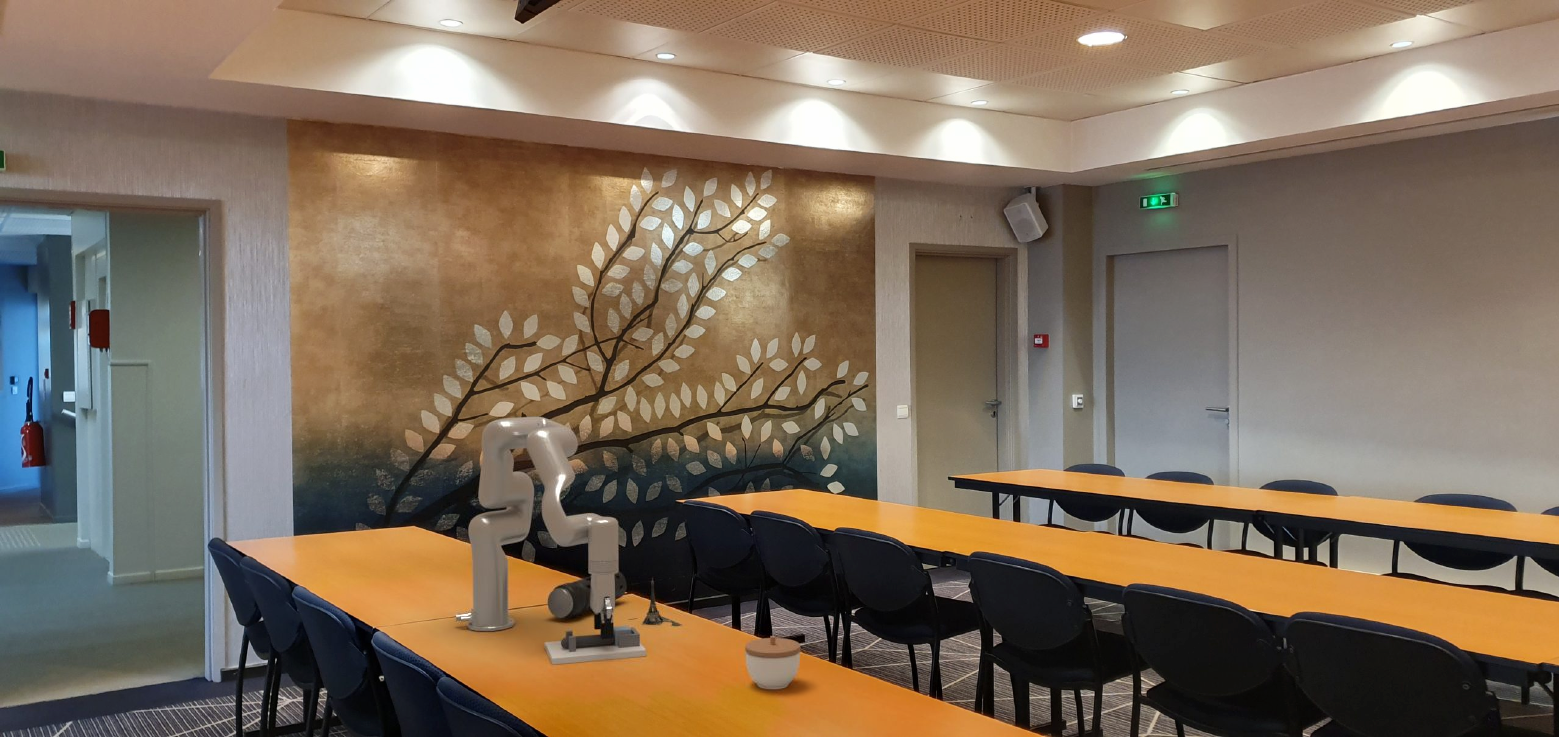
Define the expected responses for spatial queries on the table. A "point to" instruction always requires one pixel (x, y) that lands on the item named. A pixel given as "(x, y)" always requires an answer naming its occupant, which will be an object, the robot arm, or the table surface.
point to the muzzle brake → (578, 596)
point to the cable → (597, 639)
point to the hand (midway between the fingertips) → (603, 633)
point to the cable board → (595, 649)
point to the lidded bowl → (772, 661)
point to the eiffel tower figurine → (655, 613)
